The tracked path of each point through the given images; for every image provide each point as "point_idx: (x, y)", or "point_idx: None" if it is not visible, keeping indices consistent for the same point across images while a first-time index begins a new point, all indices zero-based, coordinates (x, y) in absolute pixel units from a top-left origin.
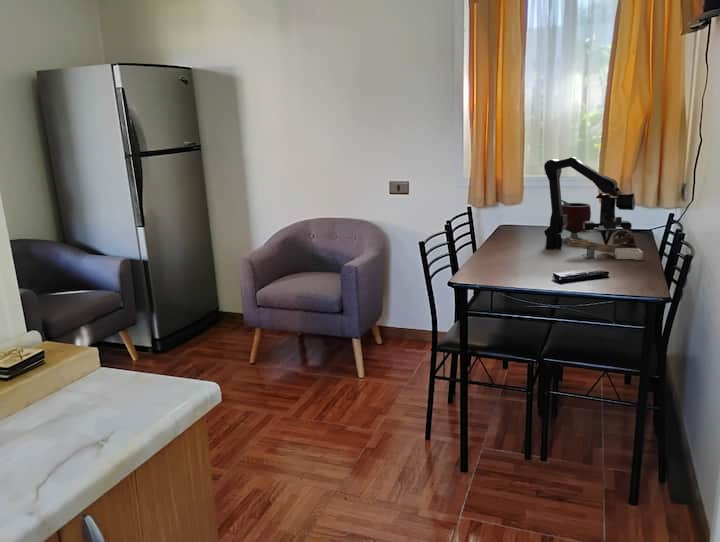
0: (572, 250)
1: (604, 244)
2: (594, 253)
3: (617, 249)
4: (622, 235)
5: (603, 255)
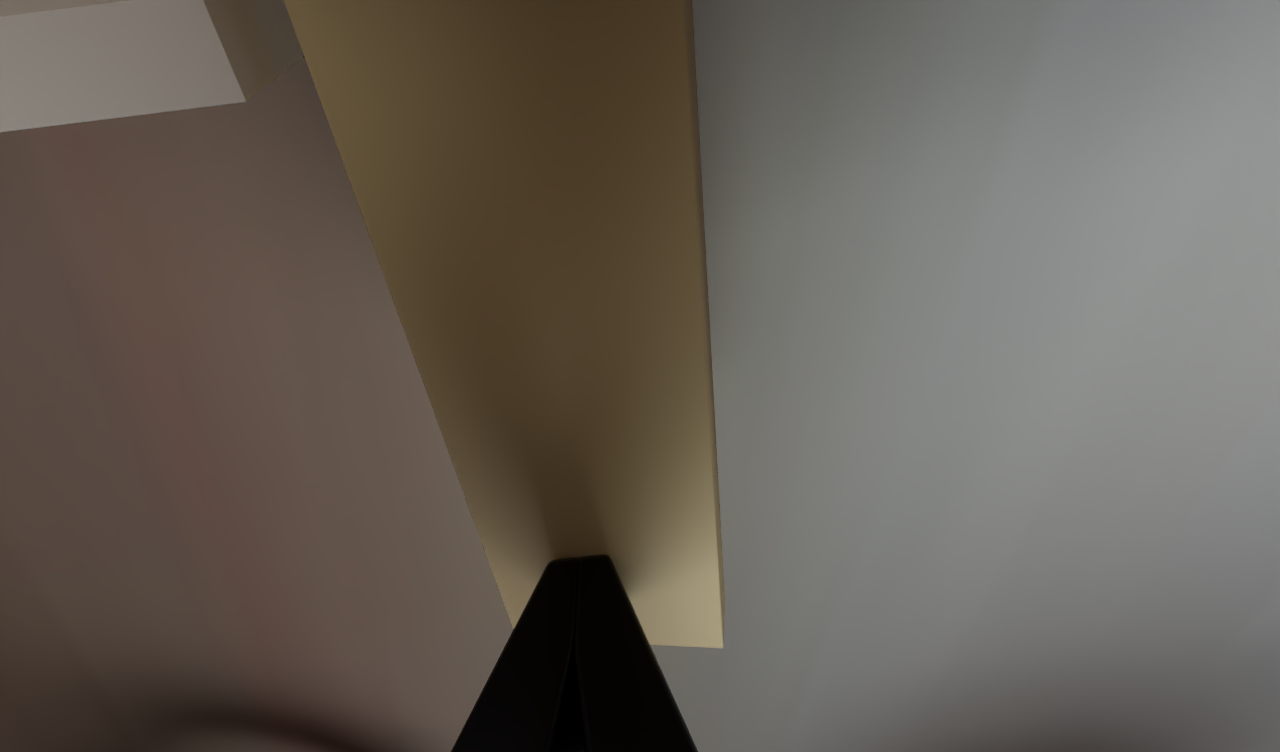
0: (1261, 505)
1: None
2: None
3: (17, 7)
4: None
5: None
